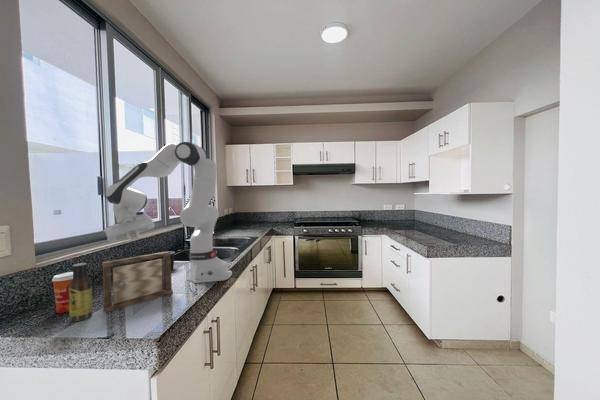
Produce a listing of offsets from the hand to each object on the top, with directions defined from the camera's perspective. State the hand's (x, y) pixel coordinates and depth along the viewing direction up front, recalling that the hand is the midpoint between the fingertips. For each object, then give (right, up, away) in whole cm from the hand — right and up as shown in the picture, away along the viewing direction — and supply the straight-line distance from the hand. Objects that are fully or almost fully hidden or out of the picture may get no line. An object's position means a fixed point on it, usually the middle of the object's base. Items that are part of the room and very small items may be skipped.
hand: (134, 238), depth 120 cm
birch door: (+13, -22, -16) cm, 30 cm away
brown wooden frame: (+13, -24, -15) cm, 31 cm away
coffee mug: (0, -23, +28) cm, 36 cm away
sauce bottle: (+1, -24, -30) cm, 39 cm away
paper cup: (-11, -24, -24) cm, 36 cm away
